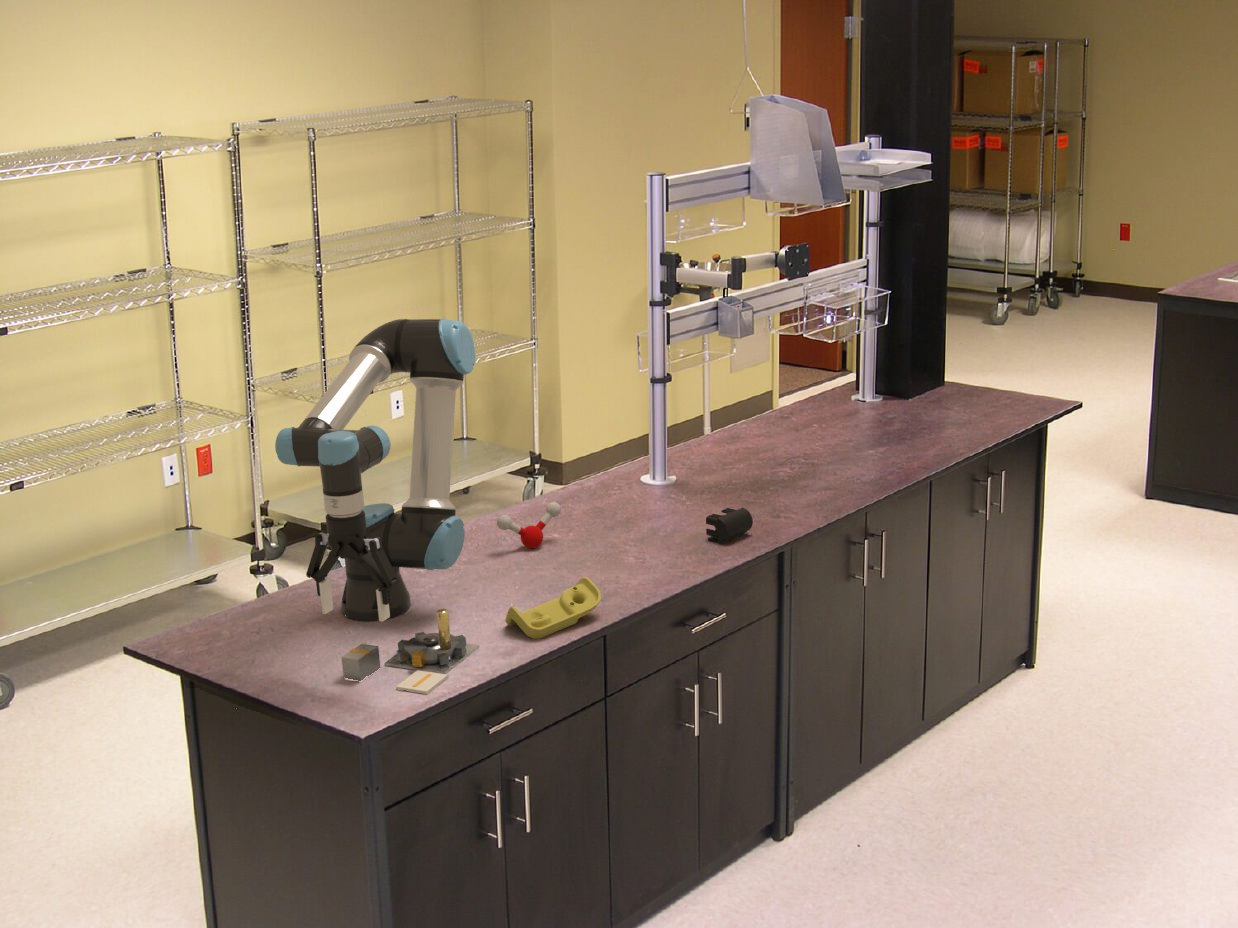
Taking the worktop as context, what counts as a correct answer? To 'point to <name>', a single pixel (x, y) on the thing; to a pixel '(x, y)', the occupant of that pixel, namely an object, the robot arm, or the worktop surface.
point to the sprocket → (433, 645)
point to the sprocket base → (435, 666)
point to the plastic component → (557, 610)
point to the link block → (361, 662)
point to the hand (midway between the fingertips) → (356, 615)
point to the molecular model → (530, 534)
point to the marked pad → (422, 682)
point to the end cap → (728, 524)
